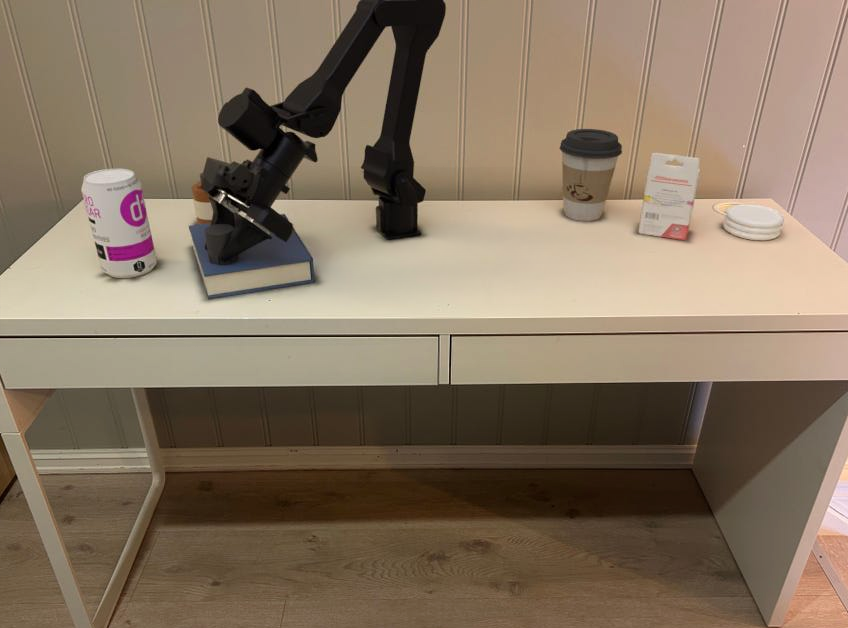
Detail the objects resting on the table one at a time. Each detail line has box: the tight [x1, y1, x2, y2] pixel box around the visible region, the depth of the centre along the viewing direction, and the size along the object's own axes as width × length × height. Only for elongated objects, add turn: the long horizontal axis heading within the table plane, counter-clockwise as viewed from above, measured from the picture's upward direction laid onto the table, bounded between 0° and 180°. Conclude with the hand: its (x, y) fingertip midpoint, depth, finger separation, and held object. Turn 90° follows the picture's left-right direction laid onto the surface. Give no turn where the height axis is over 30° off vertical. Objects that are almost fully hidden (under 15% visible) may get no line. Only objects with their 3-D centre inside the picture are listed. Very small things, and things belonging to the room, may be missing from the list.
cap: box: [204, 224, 239, 265], centre depth 109 cm, size 4×4×5 cm
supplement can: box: [80, 168, 158, 279], centre depth 112 cm, size 8×8×15 cm
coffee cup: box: [559, 128, 623, 222], centre depth 136 cm, size 11×11×15 cm
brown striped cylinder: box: [191, 172, 213, 225], centre depth 130 cm, size 6×6×9 cm
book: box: [188, 213, 316, 300], centre depth 117 cm, size 16×20×4 cm
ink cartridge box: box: [638, 152, 701, 241], centre depth 129 cm, size 9×5×15 cm, turn 68°
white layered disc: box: [722, 203, 785, 241], centre depth 134 cm, size 10×10×4 cm
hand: (214, 255), depth 109 cm, fingers closed on cap, 4 cm apart
